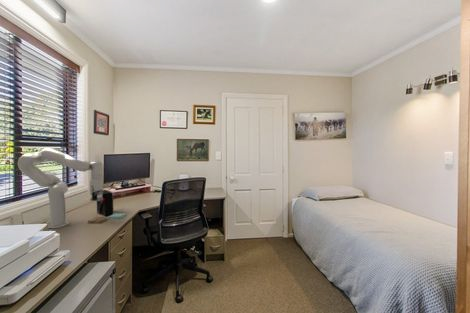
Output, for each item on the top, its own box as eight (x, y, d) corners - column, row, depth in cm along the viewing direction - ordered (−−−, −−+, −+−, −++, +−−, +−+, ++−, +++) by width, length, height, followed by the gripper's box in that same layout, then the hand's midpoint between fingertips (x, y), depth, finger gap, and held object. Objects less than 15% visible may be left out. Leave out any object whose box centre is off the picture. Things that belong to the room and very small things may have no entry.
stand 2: (108, 219, 192) (108, 216, 192) (115, 215, 202) (115, 213, 202) (120, 219, 192) (120, 216, 192) (126, 215, 202) (126, 213, 202)
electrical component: (115, 214, 205) (114, 192, 204) (102, 217, 197) (102, 194, 196) (108, 210, 217) (107, 189, 216) (96, 213, 209) (95, 191, 208)
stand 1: (87, 223, 182) (87, 220, 182) (96, 219, 192) (96, 216, 192) (100, 223, 181) (100, 220, 181) (107, 219, 191) (107, 217, 191)
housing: (90, 200, 183) (90, 192, 183) (94, 199, 188) (94, 190, 188) (99, 201, 183) (99, 192, 183) (102, 199, 188) (102, 191, 188)
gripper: (98, 175, 194) (98, 197, 194) (84, 178, 177) (84, 201, 177) (107, 175, 193) (107, 197, 194) (94, 178, 176) (94, 202, 177)
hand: (96, 199), depth 186 cm, fingers closed on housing, 5 cm apart
